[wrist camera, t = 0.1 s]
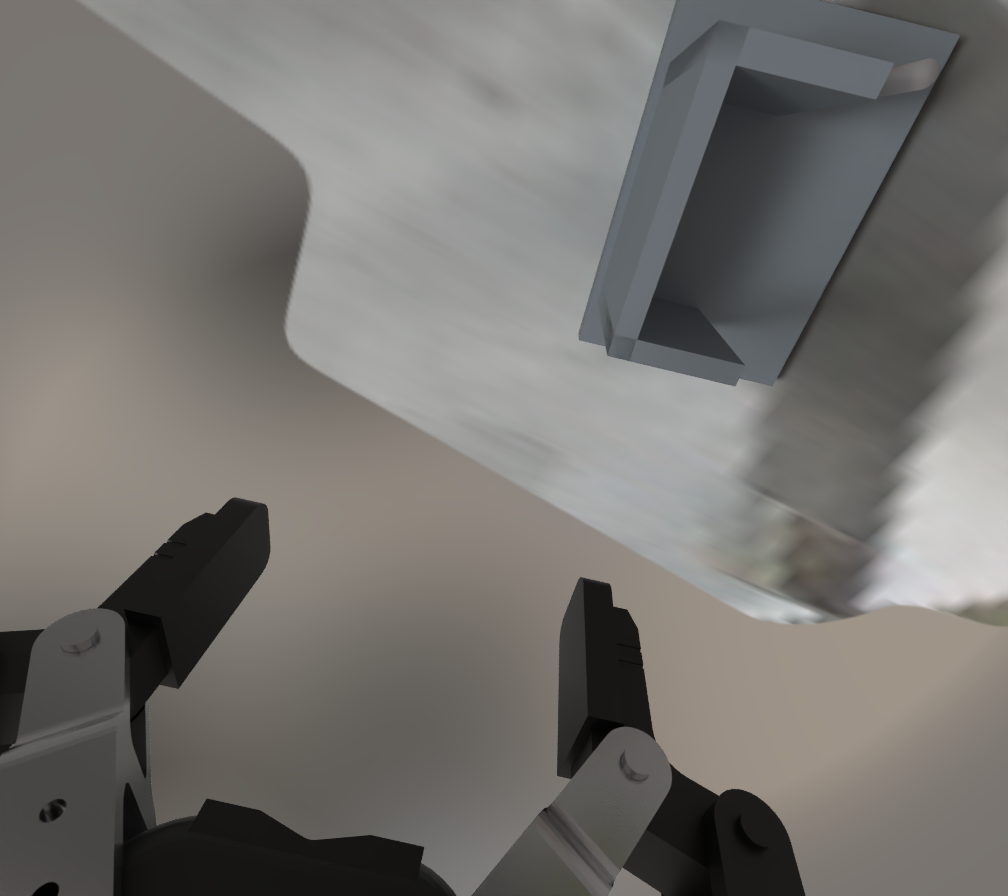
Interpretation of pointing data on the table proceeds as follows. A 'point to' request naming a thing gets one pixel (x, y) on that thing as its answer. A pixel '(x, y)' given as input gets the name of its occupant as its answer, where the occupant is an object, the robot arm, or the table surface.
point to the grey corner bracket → (752, 178)
